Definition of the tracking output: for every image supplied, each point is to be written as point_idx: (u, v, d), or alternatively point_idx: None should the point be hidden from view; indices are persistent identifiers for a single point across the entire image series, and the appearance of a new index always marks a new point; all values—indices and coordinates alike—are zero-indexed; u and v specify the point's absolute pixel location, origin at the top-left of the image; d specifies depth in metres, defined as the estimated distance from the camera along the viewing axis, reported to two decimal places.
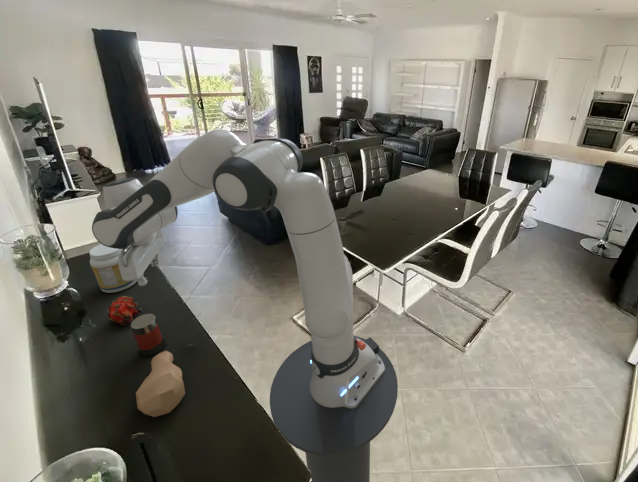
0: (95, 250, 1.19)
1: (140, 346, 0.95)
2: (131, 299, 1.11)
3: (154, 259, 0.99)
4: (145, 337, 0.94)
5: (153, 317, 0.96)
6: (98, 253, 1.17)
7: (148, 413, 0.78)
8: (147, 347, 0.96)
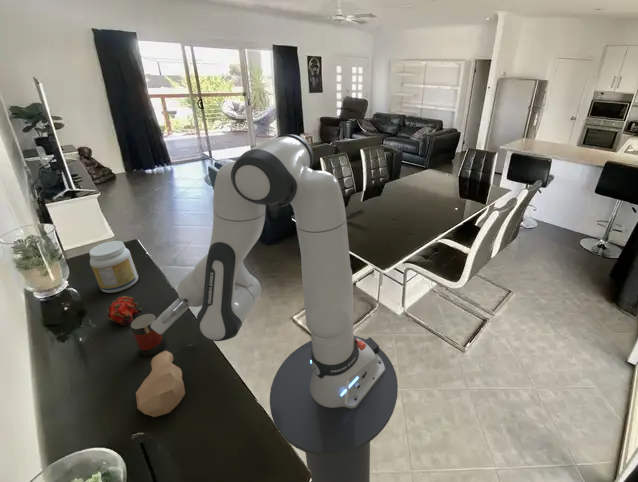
0: (95, 250, 1.19)
1: (140, 346, 0.95)
2: (131, 299, 1.11)
3: None
4: (145, 337, 0.94)
5: (153, 317, 0.96)
6: (98, 253, 1.17)
7: (148, 413, 0.78)
8: (147, 347, 0.96)
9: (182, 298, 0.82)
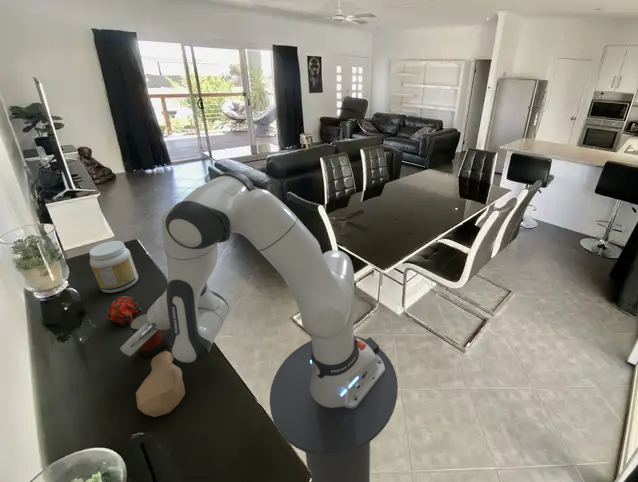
0: (95, 250, 1.19)
1: None
2: (131, 299, 1.11)
3: None
4: None
5: None
6: (98, 253, 1.17)
7: (148, 413, 0.78)
8: (147, 347, 0.96)
9: (151, 322, 0.88)
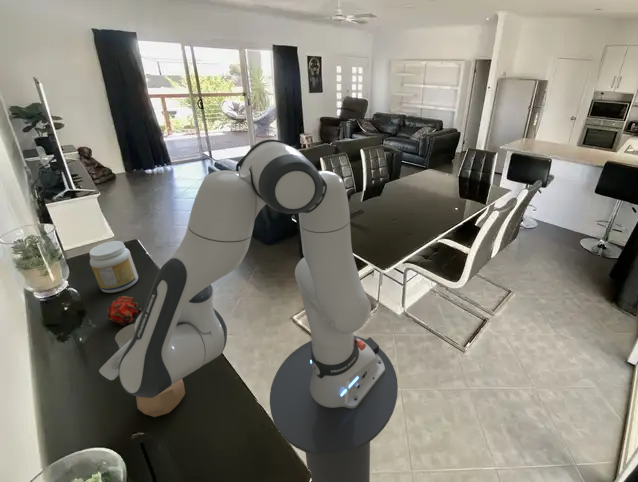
0: (95, 250, 1.19)
1: None
2: (131, 299, 1.11)
3: None
4: None
5: None
6: (98, 253, 1.17)
7: (148, 413, 0.78)
8: None
9: None
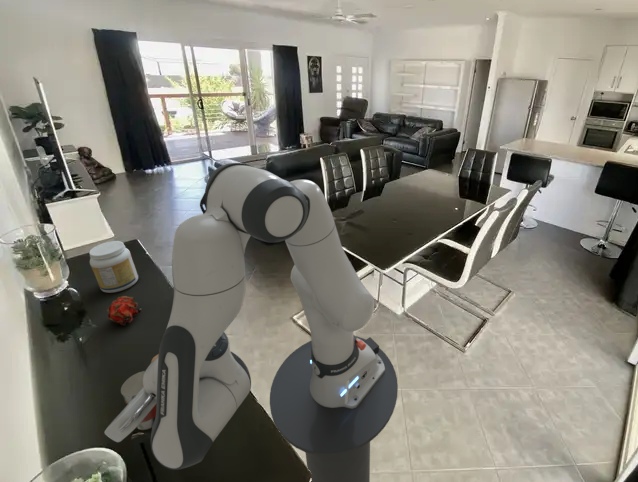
0: (95, 250, 1.19)
1: None
2: (131, 299, 1.11)
3: None
4: None
5: None
6: (98, 253, 1.17)
7: None
8: (143, 419, 0.70)
9: (149, 392, 0.62)
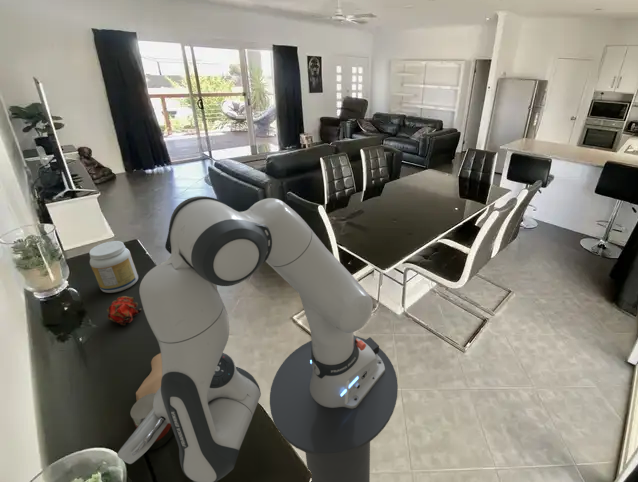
0: (95, 250, 1.19)
1: None
2: (131, 299, 1.11)
3: None
4: None
5: None
6: (98, 253, 1.17)
7: None
8: None
9: (159, 415, 0.65)
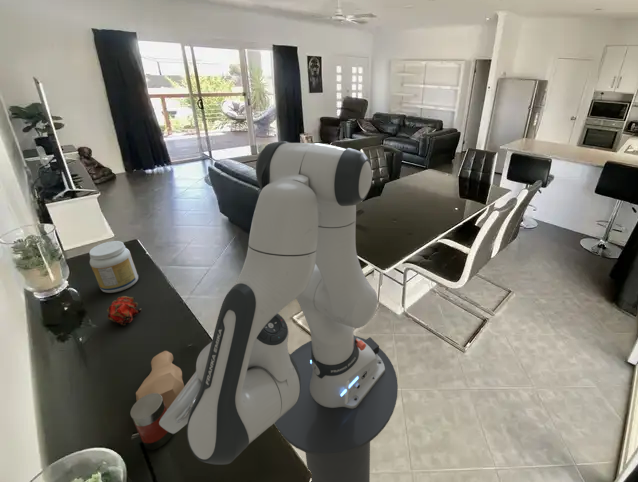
0: (95, 250, 1.19)
1: (143, 438, 0.72)
2: (131, 299, 1.11)
3: None
4: (149, 429, 0.71)
5: (160, 399, 0.73)
6: (98, 253, 1.17)
7: None
8: (152, 440, 0.73)
9: None
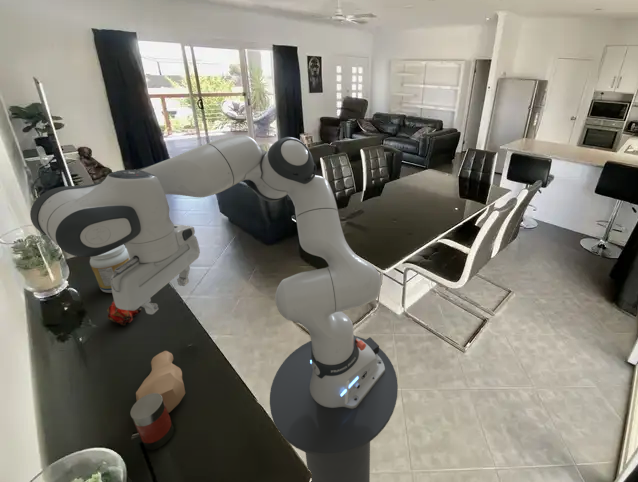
0: None
1: (143, 438, 0.72)
2: None
3: (182, 276, 0.76)
4: (149, 429, 0.71)
5: (160, 399, 0.73)
6: None
7: None
8: (152, 440, 0.73)
9: (133, 258, 0.64)
